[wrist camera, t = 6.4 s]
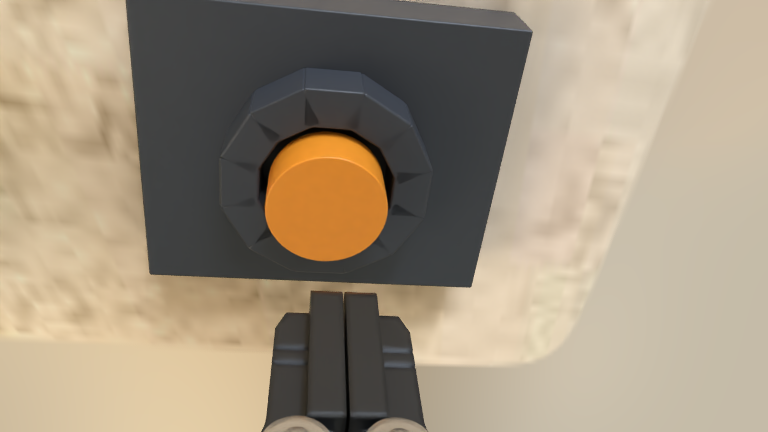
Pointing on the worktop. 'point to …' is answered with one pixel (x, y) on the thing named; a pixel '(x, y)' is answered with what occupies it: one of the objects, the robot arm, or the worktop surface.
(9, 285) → the worktop surface
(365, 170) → the button
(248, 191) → the switchbox
